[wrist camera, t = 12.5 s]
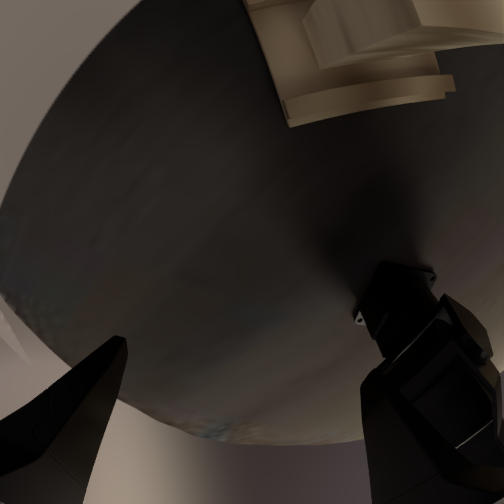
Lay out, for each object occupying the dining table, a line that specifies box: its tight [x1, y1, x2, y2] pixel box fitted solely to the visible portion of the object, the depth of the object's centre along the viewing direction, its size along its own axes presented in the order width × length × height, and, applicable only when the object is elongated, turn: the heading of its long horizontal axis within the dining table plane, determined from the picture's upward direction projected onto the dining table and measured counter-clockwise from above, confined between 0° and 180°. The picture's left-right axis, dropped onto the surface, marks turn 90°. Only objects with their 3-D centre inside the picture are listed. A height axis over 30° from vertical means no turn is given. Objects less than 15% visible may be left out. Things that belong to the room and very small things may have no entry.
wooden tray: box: [243, 0, 456, 128], centre depth 14 cm, size 12×10×2 cm
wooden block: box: [302, 0, 504, 70], centre depth 9 cm, size 6×4×12 cm, turn 108°
